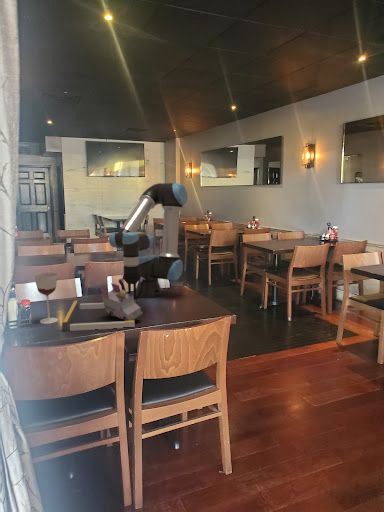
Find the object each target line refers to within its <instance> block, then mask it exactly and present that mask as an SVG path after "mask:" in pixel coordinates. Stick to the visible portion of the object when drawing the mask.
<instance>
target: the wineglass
mask: <svg viewBox="0 0 384 512" xmlns="http://www.w3.org/2000/svg"><path fill="white" fill-rule="evenodd" d="M34 280H35V284H36V289H37V291H38V292H39V294H41V295H44V296H46V307H47V317H46V318H43V319H40V320H39V323H41V324H43V325H44V324H46V325H48V324H53V323H56V322H59V318H56V317H51V316H50V315H51V314H50V301H49V300H50V299H49V295H51V294H54V292H55V291H56V289H57V283H58V275H57V273H54V272H45V273H40V274H39V273H38V274H36V275H34Z"/></svg>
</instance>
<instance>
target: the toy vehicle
mask: <svg viewBox="0 0 384 512" xmlns="http://www.w3.org/2000/svg"><path fill="white" fill-rule="evenodd" d="M110 284H111V286H112V288H113V289H111V290H110V291H108V290H106V289H104V288H100V292H101V299H102V303H104V306H105V308H104V309H105V313H106V314H108V315H109V316H110V317H111V318H113V319H115V318H116V317H117V318H118V319H121V320H123V321H131V320H136V319H137V318H139V317H140V316H142V315H143V314H144V313H143V312H142V309H141V306H140V305H138V304H136V303H135V302H137V300H136V299H135V301H134V294H133V293H131V294H128V293H127V291H124V290H122V289H120V286H119V285H120V284H117V283H112V282H111V283H110Z"/></svg>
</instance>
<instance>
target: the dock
mask: <svg viewBox="0 0 384 512" xmlns="http://www.w3.org/2000/svg"><path fill="white" fill-rule="evenodd" d="M97 309H98V310H99V309H105V306H104V303H103V302H89V303H87V302H86V303H80V304H79V300H74V301H73V302H72V303H71V306H70V308H69V310H68V312H67V314H66V316H65V318H64V319H63V320H62V332H68V331H69V332H74V331H75V332H76V331H95V329H98V330H111V329H112V330H114V329H113V328H117V329H124V328H123V327H135V325H136V323H135V320H136V319H134V320H131V321H124V320H123V321H101V322H100V321H99V322H79V323H73V321H74V318H75V316H76V314H77V313H78V310H97Z"/></svg>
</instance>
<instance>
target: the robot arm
mask: <svg viewBox="0 0 384 512" xmlns="http://www.w3.org/2000/svg"><path fill="white" fill-rule="evenodd" d="M138 199H139V200H138V203H137V204H136V206H135V207H134V209H133V210H132V211H131V212H130V214H129V216H128V217H127V219H126V220H125V222H124V223H123V225H122V226H121V227H120V229H119V231H117V232H112V233H110V235H109V238H108V240H109V241H108V242H109V245H110V246H111V247H112V248H117V249H122V253H123V255H122V261H123V267H122V268H123V276H122V277H121V278H119V279H118V283H119V285H120V287H121V291H122V290H124V291H126V287H125V283H126V284H127V290H128V291H126V292H128V293H127V294H132V288H131V287H132V286H131V285H133V298H134V301H135V299H136V302H135V303H136V304H137V301H138V299H141V298H145V299H150V298H157V297H159V296H161V295H162V287H161V285H160V282H159V280H167V281H177V280H178V279H180V277H181V275H182V273H183V271H184V264H183V260H181V259H180V257H181V256H180V255H179V254H178V244H179V227H180V226H179V225H180V212H181V211H182V210H183V208H184V207H183V206H184V205H186V204H187V201H188V192H187V189H186V187H185V185H184V184H182V183H176V182H171V183H170V182H169V183H163V182H162V183H161V182H160V183H158V182H157V183H154V184H152V185H151V186H149V187H148V188H146V190H145V191H143V192H142V194H141V195H140V197H139V198H138ZM157 205H161V208H162V209H163V211H164V214H163V227H162V245H161V248H162V249H161V253H160V254H159V255H158V254H149V255H143V256H140V251H144V250H148V249H151V248H152V247H153V245H154V237H153V236H152V235H151V234H148V233H143V234H139V233H138V232H137V231H138V229H139V228H140V226H141V225H142V223H143V222H144V220H145V219H146V218H147V215H148V214H149V212H150V211H151V209H154V208H155V207H156V206H157ZM124 282H125V283H124ZM137 305H138V304H137Z"/></svg>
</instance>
